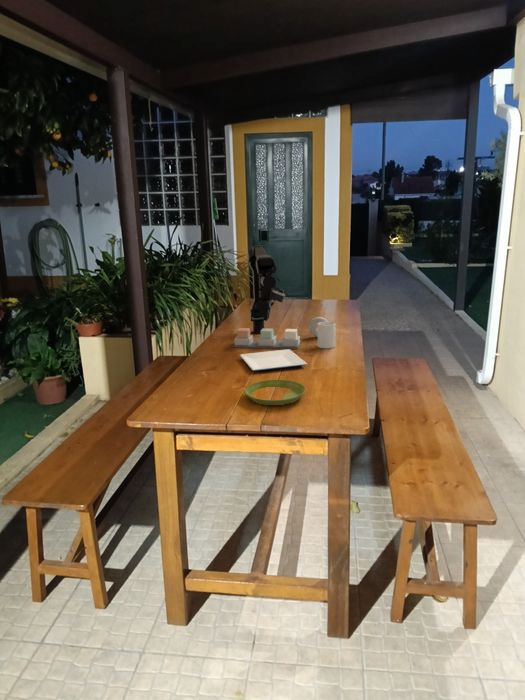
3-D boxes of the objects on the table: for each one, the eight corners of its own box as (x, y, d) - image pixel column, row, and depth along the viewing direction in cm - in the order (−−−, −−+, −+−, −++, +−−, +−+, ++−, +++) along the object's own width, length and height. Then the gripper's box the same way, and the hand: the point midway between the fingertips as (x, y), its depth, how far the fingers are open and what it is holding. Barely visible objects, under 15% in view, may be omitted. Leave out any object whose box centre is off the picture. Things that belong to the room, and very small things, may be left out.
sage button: (262, 336, 253) (262, 328, 252) (273, 337, 252) (273, 328, 251) (260, 339, 248) (260, 331, 247) (271, 339, 247) (271, 331, 246)
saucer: (317, 395, 189) (317, 386, 188) (279, 414, 174) (278, 405, 173) (272, 383, 202) (272, 375, 201) (232, 400, 187) (232, 391, 187)
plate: (252, 374, 212) (252, 369, 212) (239, 358, 233) (239, 354, 232) (307, 368, 218) (307, 363, 217) (289, 353, 239) (289, 348, 238)
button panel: (239, 341, 259) (238, 333, 258) (300, 343, 253) (300, 335, 252) (234, 347, 249) (233, 339, 248) (297, 349, 244) (297, 340, 243)
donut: (308, 338, 261) (308, 317, 258) (308, 336, 264) (308, 316, 261) (329, 338, 260) (329, 317, 257) (329, 336, 263) (329, 316, 260)
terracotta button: (239, 336, 255) (239, 328, 254) (250, 336, 254) (249, 328, 253) (237, 339, 251) (236, 330, 249) (247, 339, 250) (247, 330, 248)
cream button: (286, 337, 251) (286, 328, 250) (297, 337, 250) (297, 329, 249) (284, 340, 246) (284, 331, 245) (295, 340, 245) (295, 331, 244)
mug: (333, 349, 242) (333, 325, 239) (316, 348, 244) (316, 325, 241) (338, 341, 253) (338, 319, 250) (321, 341, 255) (321, 319, 252)
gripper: (280, 289, 233) (280, 324, 237) (286, 281, 251) (287, 315, 255) (254, 289, 235) (255, 324, 240) (263, 282, 253) (264, 315, 257)
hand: (266, 319), depth 248 cm, fingers open, 3 cm apart
